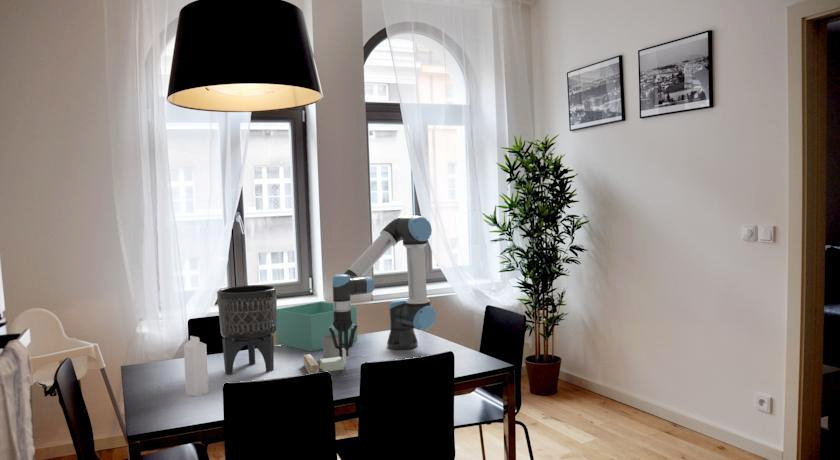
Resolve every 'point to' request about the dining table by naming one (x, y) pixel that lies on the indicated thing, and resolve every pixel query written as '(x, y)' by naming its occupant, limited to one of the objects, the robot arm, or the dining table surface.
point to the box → (308, 325)
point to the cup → (329, 347)
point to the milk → (195, 367)
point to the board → (310, 364)
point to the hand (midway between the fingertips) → (343, 363)
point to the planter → (248, 322)
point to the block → (332, 364)
